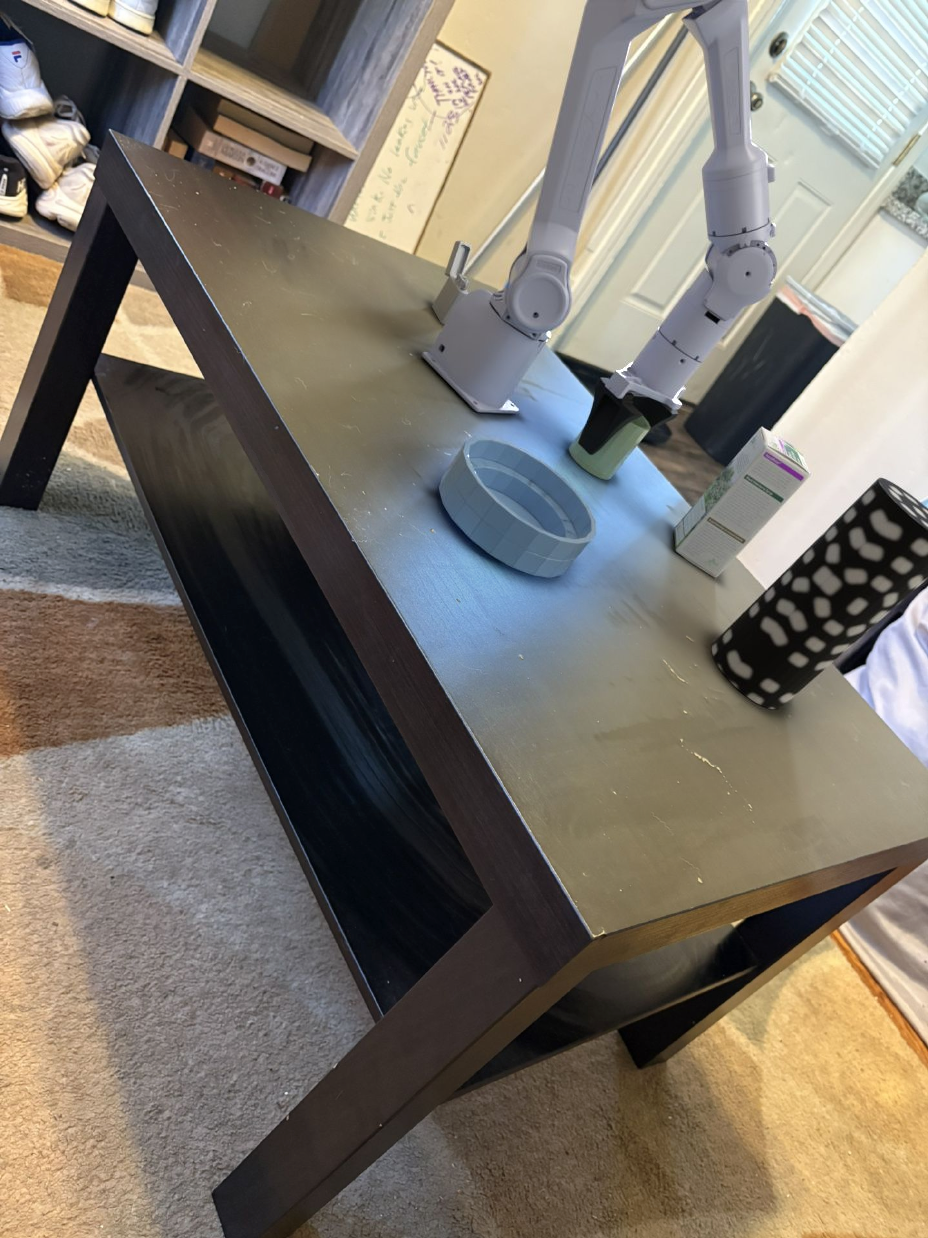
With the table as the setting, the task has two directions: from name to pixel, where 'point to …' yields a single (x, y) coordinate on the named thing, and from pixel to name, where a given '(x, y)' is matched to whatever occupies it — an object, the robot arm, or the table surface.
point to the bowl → (516, 507)
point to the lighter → (453, 282)
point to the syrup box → (740, 502)
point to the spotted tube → (828, 596)
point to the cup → (611, 450)
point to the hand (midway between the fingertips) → (600, 448)
